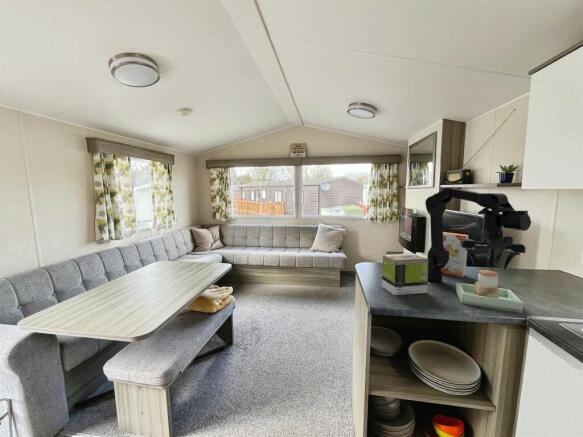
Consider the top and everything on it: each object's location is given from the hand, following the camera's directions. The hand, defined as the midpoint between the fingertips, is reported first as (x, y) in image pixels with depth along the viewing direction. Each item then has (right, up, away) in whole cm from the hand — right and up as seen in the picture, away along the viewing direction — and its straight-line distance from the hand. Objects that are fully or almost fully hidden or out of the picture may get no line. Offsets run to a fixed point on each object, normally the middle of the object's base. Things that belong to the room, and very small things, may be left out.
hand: (488, 267), depth 97 cm
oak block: (0, -12, +1) cm, 12 cm away
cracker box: (+6, -10, +35) cm, 37 cm away
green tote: (0, -13, +1) cm, 13 cm away
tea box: (-28, -12, +11) cm, 32 cm away
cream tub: (0, -7, +1) cm, 7 cm away
